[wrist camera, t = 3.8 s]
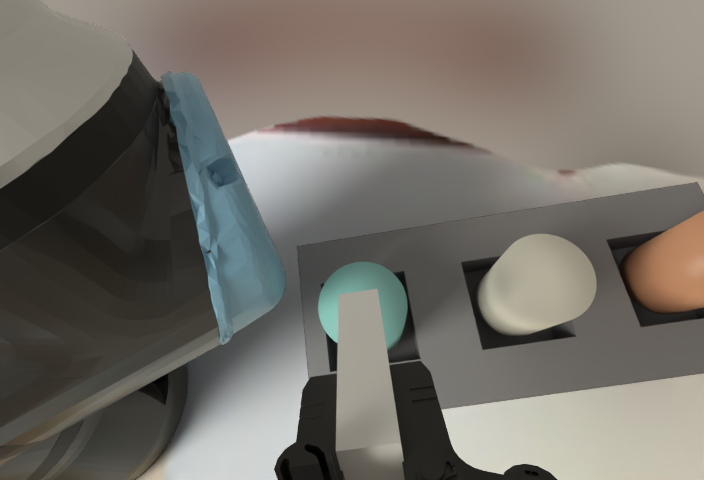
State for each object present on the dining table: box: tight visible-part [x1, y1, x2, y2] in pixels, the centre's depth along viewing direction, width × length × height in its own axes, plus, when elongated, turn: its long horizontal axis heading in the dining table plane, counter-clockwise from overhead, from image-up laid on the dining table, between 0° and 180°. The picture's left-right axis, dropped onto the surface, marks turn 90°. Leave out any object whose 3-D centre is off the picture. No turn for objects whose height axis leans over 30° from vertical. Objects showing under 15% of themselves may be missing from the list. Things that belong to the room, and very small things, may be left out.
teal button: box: [318, 262, 408, 353], centre depth 22 cm, size 4×4×6 cm
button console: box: [297, 182, 704, 409], centre depth 27 cm, size 26×11×9 cm, turn 98°
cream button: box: [475, 234, 597, 337], centre depth 21 cm, size 4×4×6 cm
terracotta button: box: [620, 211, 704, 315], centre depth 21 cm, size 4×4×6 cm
